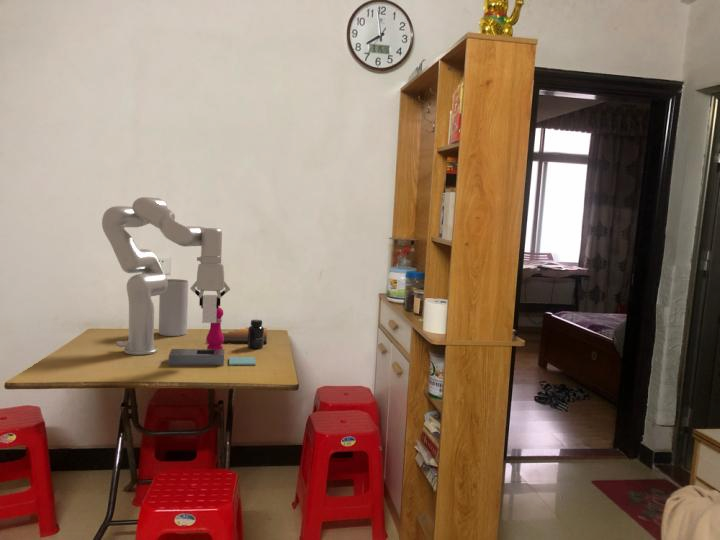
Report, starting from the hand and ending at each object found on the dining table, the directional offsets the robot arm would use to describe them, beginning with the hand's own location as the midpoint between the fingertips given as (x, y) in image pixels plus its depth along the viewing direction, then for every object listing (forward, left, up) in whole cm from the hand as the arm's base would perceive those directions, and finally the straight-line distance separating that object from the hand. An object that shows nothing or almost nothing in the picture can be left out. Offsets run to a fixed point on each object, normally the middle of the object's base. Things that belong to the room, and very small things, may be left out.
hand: (209, 307), depth 222 cm
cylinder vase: (-18, +52, -22) cm, 59 cm away
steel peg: (0, 0, -6) cm, 6 cm away
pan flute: (+12, +45, -22) cm, 51 cm away
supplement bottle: (+19, +25, -22) cm, 38 cm away
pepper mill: (+2, +20, -22) cm, 30 cm away
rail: (-4, 0, -22) cm, 22 cm away
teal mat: (+13, 0, -22) cm, 25 cm away
